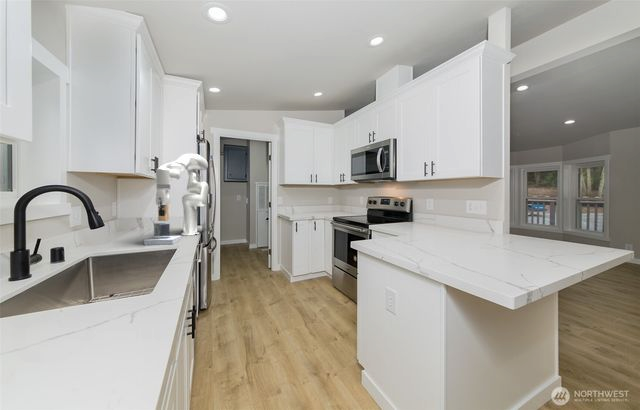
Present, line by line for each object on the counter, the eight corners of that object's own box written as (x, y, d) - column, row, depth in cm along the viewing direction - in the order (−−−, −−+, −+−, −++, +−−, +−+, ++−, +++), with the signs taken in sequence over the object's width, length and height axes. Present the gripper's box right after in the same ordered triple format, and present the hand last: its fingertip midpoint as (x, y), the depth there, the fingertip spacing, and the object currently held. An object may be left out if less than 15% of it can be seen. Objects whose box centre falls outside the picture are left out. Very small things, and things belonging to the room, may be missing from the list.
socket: (155, 240, 170) (155, 236, 170) (181, 240, 173) (181, 235, 173) (144, 245, 154) (143, 240, 154) (172, 244, 157) (172, 239, 157)
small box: (170, 238, 179) (170, 223, 179) (160, 239, 174) (160, 224, 174) (163, 236, 185) (163, 222, 185) (153, 238, 180) (153, 223, 180)
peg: (161, 220, 165) (161, 204, 164) (168, 220, 165) (168, 205, 165) (158, 220, 160) (158, 205, 160) (165, 220, 161) (165, 205, 161)
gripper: (162, 187, 170) (162, 214, 170) (150, 186, 153) (150, 216, 154) (174, 188, 171) (174, 214, 172) (164, 186, 155) (164, 216, 155)
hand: (163, 215), depth 163 cm, fingers closed on peg, 4 cm apart
